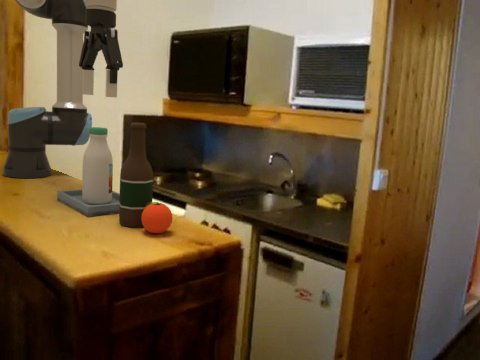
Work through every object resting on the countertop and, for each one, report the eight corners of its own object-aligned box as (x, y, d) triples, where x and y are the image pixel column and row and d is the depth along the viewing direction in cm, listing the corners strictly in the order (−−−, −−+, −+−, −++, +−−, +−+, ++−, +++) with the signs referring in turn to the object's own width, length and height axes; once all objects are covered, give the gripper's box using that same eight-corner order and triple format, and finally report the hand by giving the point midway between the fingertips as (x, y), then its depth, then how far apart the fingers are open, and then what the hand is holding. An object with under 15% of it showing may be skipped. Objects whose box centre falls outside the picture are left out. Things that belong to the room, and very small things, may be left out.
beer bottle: (140, 217, 113) (143, 121, 109) (158, 225, 107) (162, 124, 103) (112, 221, 107) (114, 121, 103) (129, 230, 102) (132, 124, 98)
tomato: (131, 230, 102) (132, 200, 101) (155, 225, 107) (156, 196, 106) (154, 239, 97) (155, 207, 96) (178, 233, 102) (179, 203, 101)
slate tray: (57, 200, 124) (57, 191, 124) (104, 195, 134) (104, 187, 133) (87, 217, 110) (88, 207, 109) (138, 210, 119) (139, 201, 119)
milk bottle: (103, 206, 117) (104, 129, 114) (76, 203, 119) (77, 127, 115) (117, 200, 125) (118, 128, 121) (91, 197, 126) (92, 125, 123)
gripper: (66, 11, 120) (65, 92, 123) (109, 2, 102) (107, 97, 105) (93, 16, 125) (92, 94, 128) (139, 8, 107) (136, 99, 110)
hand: (99, 96), depth 117 cm, fingers open, 13 cm apart
